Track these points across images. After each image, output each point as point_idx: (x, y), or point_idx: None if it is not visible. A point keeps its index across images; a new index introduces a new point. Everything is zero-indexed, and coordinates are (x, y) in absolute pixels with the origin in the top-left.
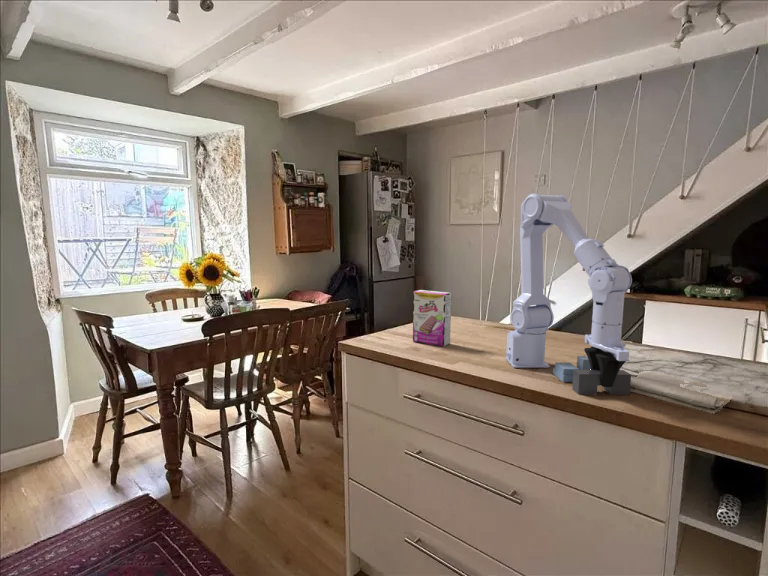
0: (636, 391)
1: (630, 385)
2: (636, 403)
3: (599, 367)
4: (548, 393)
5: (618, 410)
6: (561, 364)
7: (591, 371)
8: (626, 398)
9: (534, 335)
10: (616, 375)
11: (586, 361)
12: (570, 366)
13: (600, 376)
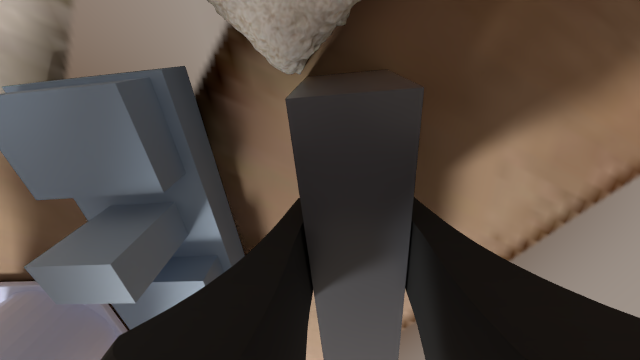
0: (355, 2)
1: (327, 34)
2: (511, 92)
3: (303, 281)
4: None
5: (561, 210)
6: None
7: (349, 315)
8: (437, 113)
9: None
10: (454, 229)
11: (134, 274)
12: (171, 299)
13: (407, 286)
